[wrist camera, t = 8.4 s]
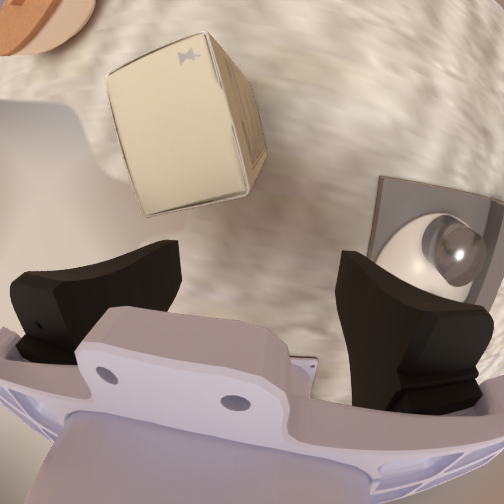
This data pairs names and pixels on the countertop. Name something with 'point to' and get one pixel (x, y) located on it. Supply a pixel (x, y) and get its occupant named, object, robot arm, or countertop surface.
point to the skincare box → (186, 126)
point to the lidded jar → (41, 24)
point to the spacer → (454, 250)
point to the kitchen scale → (412, 229)
